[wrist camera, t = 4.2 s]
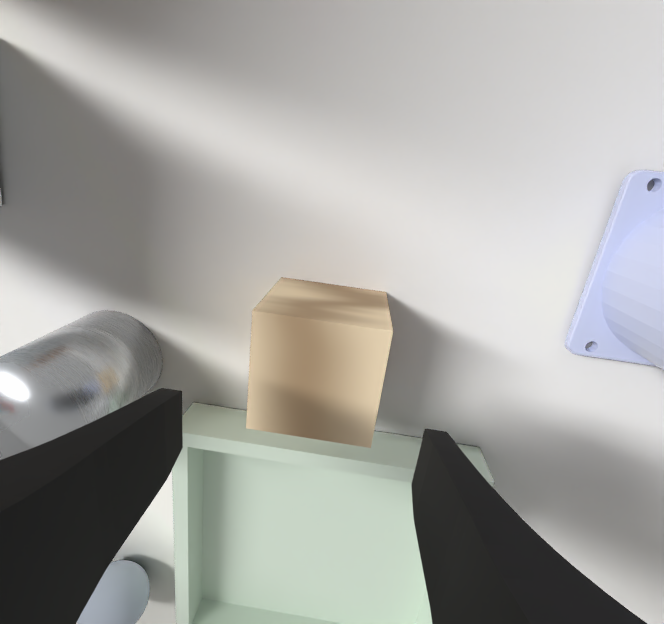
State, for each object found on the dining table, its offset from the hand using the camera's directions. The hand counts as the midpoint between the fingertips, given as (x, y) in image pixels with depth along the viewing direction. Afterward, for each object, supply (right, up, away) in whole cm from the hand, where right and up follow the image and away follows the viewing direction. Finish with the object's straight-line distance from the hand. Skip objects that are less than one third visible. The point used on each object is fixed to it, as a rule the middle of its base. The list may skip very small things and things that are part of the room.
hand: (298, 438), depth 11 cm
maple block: (+1, +3, +8) cm, 8 cm away
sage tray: (0, -10, +12) cm, 15 cm away
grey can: (-11, +1, +9) cm, 14 cm away
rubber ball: (-12, -14, +14) cm, 23 cm away
